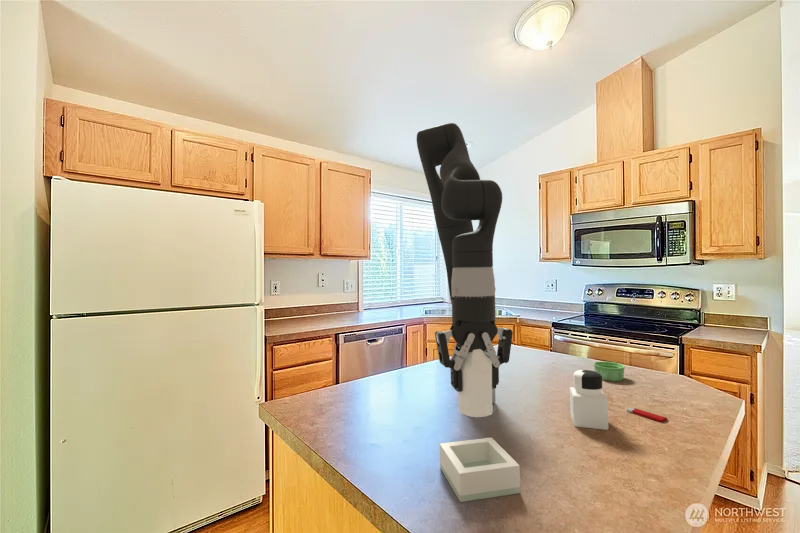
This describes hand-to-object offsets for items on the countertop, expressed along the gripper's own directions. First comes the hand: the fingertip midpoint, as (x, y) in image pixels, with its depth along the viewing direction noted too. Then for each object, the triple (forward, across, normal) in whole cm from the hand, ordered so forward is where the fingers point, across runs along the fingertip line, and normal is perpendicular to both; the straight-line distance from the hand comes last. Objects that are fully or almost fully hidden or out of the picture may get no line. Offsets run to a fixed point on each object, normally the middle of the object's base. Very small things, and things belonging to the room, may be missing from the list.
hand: (474, 388), depth 65 cm
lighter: (+17, -51, -16) cm, 56 cm away
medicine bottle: (+16, -35, -16) cm, 42 cm away
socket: (+16, 0, 0) cm, 16 cm away
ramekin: (+16, -66, -45) cm, 82 cm away
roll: (+4, 0, 0) cm, 4 cm away
